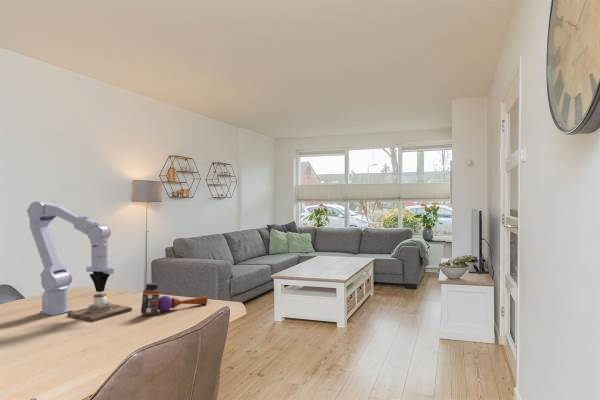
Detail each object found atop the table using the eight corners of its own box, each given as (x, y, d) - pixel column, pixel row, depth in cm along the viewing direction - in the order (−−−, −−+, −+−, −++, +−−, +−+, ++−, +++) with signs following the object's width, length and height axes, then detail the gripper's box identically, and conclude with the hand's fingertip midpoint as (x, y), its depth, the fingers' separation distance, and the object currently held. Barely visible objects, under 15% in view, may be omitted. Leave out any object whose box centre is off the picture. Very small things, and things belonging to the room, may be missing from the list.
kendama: (209, 295, 161) (159, 299, 149) (207, 309, 162) (157, 315, 150) (203, 290, 166) (155, 294, 154) (202, 304, 166) (153, 308, 155)
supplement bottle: (151, 316, 146) (154, 285, 147) (137, 314, 147) (140, 283, 148) (160, 313, 151) (163, 283, 152) (146, 311, 153) (149, 282, 154)
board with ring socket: (67, 315, 150) (67, 307, 150) (106, 305, 164) (106, 298, 164) (93, 321, 142) (92, 312, 142) (131, 310, 156) (131, 302, 156)
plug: (91, 310, 152) (91, 295, 152) (101, 308, 156) (101, 292, 156) (98, 312, 150) (98, 296, 150) (109, 309, 153) (108, 293, 154)
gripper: (78, 256, 153) (79, 291, 153) (101, 258, 146) (101, 295, 146) (95, 254, 159) (96, 288, 159) (118, 256, 152) (119, 291, 152)
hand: (100, 291), depth 153 cm, fingers closed
